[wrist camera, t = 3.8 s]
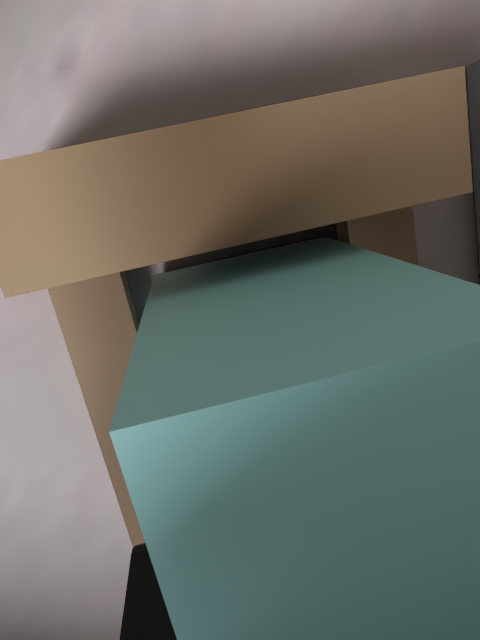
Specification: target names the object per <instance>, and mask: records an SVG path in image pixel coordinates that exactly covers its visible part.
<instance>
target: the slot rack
mask: <svg viewBox="0 0 480 640" xmlns="http://www.w3.org/2000/svg"><path fill="white" fill-rule="evenodd" d="M472 192H473V186H472V170H471V155H470V140H469V124H468V109H467V94H466V79H465V66H460V67H455V68H450V69H445V70H440V71H436V72H431V73H426V74H421V75H416V76H411V77H406V78H401V79H396V80H391V81H386V82H382V83H377V84H372V85H367V86H362V87H357V88H352V89H347V90H342V91H337V92H333V93H328V94H323V95H318V96H313V97H308V98H303V99H298V100H293V101H288V102H284V103H279V104H274V105H269V106H264V107H259V108H254V109H249V110H244V111H239V112H234V113H230V114H225V115H220V116H215V117H210V118H205V119H200V120H195V121H190V122H185V123H181V124H176V125H171V126H166V127H161V128H156V129H151V130H146V131H141V132H136V133H132V134H127V135H122V136H117V137H112V138H107V139H102V140H97V141H92V142H87V143H82V144H78V145H73V146H68V147H63V148H58V149H53V150H48V151H43V152H38V153H33V154H29V155H24V156H19V157H14V158H9V159H4V160H0V285H1V288H2V291H3V294H4V296H5V298H6V297H11V296H15V295H20V294H24V293H29V292H33V291H37V290H42V289H46V288H48V291H49V294H50V297H51V300H52V303H53V306H54V309H55V312H56V315H57V318H58V321H59V324H60V327H61V330H62V333H63V336H64V339H65V342H66V345H67V348H68V351H69V354H70V357H71V360H72V363H73V366H74V369H75V372H76V375H77V378H78V381H79V384H80V387H81V390H82V393H83V397H84V400H85V403H86V406H87V409H88V412H89V415H90V418H91V421H92V424H93V427H94V430H95V433H96V436H97V439H98V442H99V445H100V448H101V451H102V454H103V457H104V460H105V463H106V466H107V469H108V472H109V475H110V478H111V481H112V484H113V487H114V490H115V493H116V496H117V499H118V502H119V506H120V509H121V512H122V515H123V518H124V521H125V524H126V527H127V530H128V533H129V536H130V539H131V542H132V545H133V548H134V546H135V545H139V544H143V543H145V540H144V537H143V534H142V531H141V528H140V525H139V522H138V519H137V516H136V513H135V510H134V507H133V504H132V501H131V498H130V494H129V491H128V488H127V485H126V482H125V479H124V476H123V473H122V470H121V467H120V464H119V461H118V458H117V455H116V452H115V449H114V446H113V443H112V439H111V436H110V433H109V430H110V427H111V423H112V420H113V416H114V413H115V409H116V406H117V402H118V399H119V395H120V392H121V388H122V385H123V381H124V378H125V374H126V371H127V367H128V364H129V360H130V357H131V353H132V350H133V346H134V343H135V339H136V336H137V332H138V329H139V325H140V323H139V320H138V316H137V313H136V309H135V306H134V302H133V298H132V295H131V291H130V288H129V284H128V281H127V277H126V273H125V271H126V270H131V269H135V268H139V267H144V266H148V265H153V264H157V263H162V262H166V261H170V260H175V259H179V258H184V257H188V256H193V255H197V254H201V253H206V252H210V251H215V250H219V249H224V248H228V247H233V246H237V245H241V244H246V243H250V242H255V241H259V240H264V239H268V238H272V237H277V236H281V235H286V234H290V233H295V232H299V231H303V230H308V229H312V228H317V227H321V226H326V225H330V224H334V223H335V225H336V232H337V239H338V241H341V242H344V243H347V244H350V245H354V246H357V247H360V248H363V249H366V250H370V251H373V252H376V253H379V254H382V255H386V256H389V257H392V258H395V259H398V260H402V261H405V262H408V263H411V264H414V265H417V266H418V262H417V252H416V243H415V233H414V223H413V213H412V206H414V205H419V204H423V203H428V202H432V201H436V200H441V199H445V198H450V197H454V196H459V195H463V194H467V193H472Z"/></svg>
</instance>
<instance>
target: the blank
mask: <svg viewBox="0 0 480 640" xmlns="http://www.w3.org/2000/svg"><path fill="white" fill-rule="evenodd" d="M109 433H110V436H111V439H112V443H113V446H114V449H115V452H116V455H117V458H118V461H119V464H120V467H121V470H122V473H123V476H124V479H125V482H126V485H127V488H128V491H129V494H130V498H131V501H132V504H133V507H134V510H135V513H136V516H137V519H138V522H139V525H140V528H141V531H142V534H143V537H144V540H145V543H146V546H147V549H148V552H149V556H150V559H151V562H152V565H153V568H154V571H155V574H156V577H157V580H158V583H159V586H160V589H161V592H162V595H163V598H164V601H165V604H166V607H167V611H168V614H169V617H170V620H171V623H172V626H173V629H174V632H175V635H176V638H177V640H480V285H478V284H475V283H472V282H469V281H465V280H462V279H459V278H456V277H453V276H449V275H446V274H443V273H440V272H437V271H433V270H430V269H427V268H424V267H421V266H417V265H414V264H411V263H408V262H405V261H402V260H398V259H395V258H392V257H389V256H386V255H382V254H379V253H376V252H373V251H370V250H366V249H363V248H360V247H357V246H354V245H350V244H347V243H344V242H341V241H338V240H334V239H331V238H328V237H320V238H316V239H311V240H307V241H302V242H298V243H294V244H289V245H285V246H280V247H276V248H271V249H267V250H262V251H258V252H254V253H249V254H245V255H240V256H236V257H231V258H227V259H222V260H218V261H214V262H209V263H205V264H200V265H196V266H191V267H187V268H182V269H178V270H174V271H169V272H165V273H160V274H156V275H154V276H153V280H152V283H151V287H150V290H149V294H148V297H147V301H146V304H145V308H144V311H143V315H142V318H141V322H140V325H139V329H138V332H137V336H136V339H135V343H134V346H133V350H132V353H131V357H130V360H129V364H128V367H127V371H126V374H125V378H124V381H123V385H122V388H121V392H120V395H119V399H118V402H117V406H116V409H115V413H114V416H113V420H112V423H111V427H110V430H109Z"/></svg>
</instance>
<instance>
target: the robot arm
mask: <svg viewBox="0 0 480 640" xmlns="http://www.w3.org/2000/svg"><path fill="white" fill-rule="evenodd" d="M120 640H177V638H176V635H175V632H174V629H173V626H172V623H171V620H170V617H169V614H168V611H167V607H166V604H165V601H164V598H163V595H162V592H161V589H160V586H159V583H158V580H157V577H156V574H155V571H154V568H153V565H152V562H151V559H150V556H149V552H148V549H147V546H146V543H143V544H139V545H135V546H134V548H133V550H132V554H131V561H130V568H129V576H128V583H127V590H126V598H125V605H124V612H123V619H122V627H121V634H120Z"/></svg>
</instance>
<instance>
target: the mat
mask: <svg viewBox="0 0 480 640" xmlns="http://www.w3.org/2000/svg"><path fill="white" fill-rule="evenodd" d="M466 71H467V86H468V102H469V117H470V133H471V148H472V164H473V179H474V195H475V210H476V226H477V241H478V257H479V272H480V61H479V62H477V63H475V64H473V65H470V66H468V67H466Z"/></svg>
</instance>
